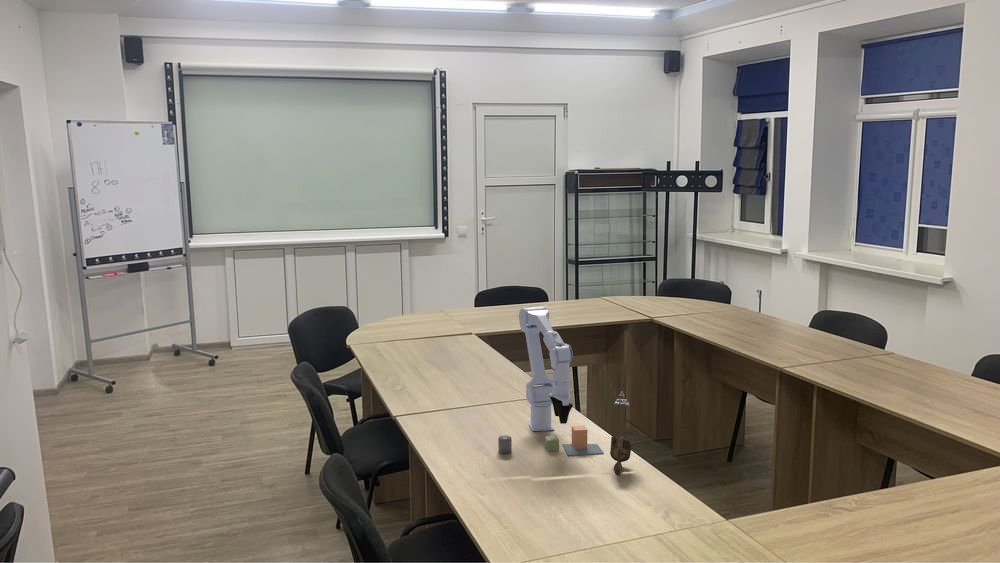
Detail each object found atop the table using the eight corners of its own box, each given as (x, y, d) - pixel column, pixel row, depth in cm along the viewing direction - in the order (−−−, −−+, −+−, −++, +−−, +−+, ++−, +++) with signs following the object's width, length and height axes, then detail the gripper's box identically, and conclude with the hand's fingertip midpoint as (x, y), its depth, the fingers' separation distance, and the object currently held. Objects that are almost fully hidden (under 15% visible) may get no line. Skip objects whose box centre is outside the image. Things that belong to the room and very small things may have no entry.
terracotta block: (571, 444, 251) (571, 426, 250) (584, 443, 251) (584, 425, 250) (574, 449, 246) (574, 430, 246) (587, 448, 247) (587, 429, 246)
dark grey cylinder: (497, 450, 247) (497, 435, 247) (510, 449, 248) (510, 435, 247) (499, 454, 243) (499, 440, 242) (512, 454, 244) (512, 439, 243)
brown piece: (629, 462, 236) (629, 432, 234) (638, 478, 223) (638, 446, 222) (607, 462, 236) (607, 432, 234) (614, 478, 223) (614, 447, 222)
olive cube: (545, 447, 249) (545, 436, 249) (556, 447, 250) (556, 435, 249) (547, 452, 245) (547, 440, 245) (559, 451, 246) (559, 439, 245)
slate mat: (559, 441, 255) (559, 440, 255) (592, 439, 257) (592, 438, 257) (568, 456, 241) (568, 454, 241) (603, 453, 243) (603, 452, 243)
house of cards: (636, 406, 294) (636, 387, 293) (635, 412, 286) (635, 393, 285) (613, 404, 296) (613, 386, 295) (611, 411, 288) (612, 392, 287)
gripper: (544, 375, 254) (544, 413, 256) (554, 387, 240) (554, 427, 242) (564, 374, 255) (564, 412, 257) (575, 386, 241) (574, 426, 243)
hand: (560, 419), depth 249 cm, fingers open, 7 cm apart
